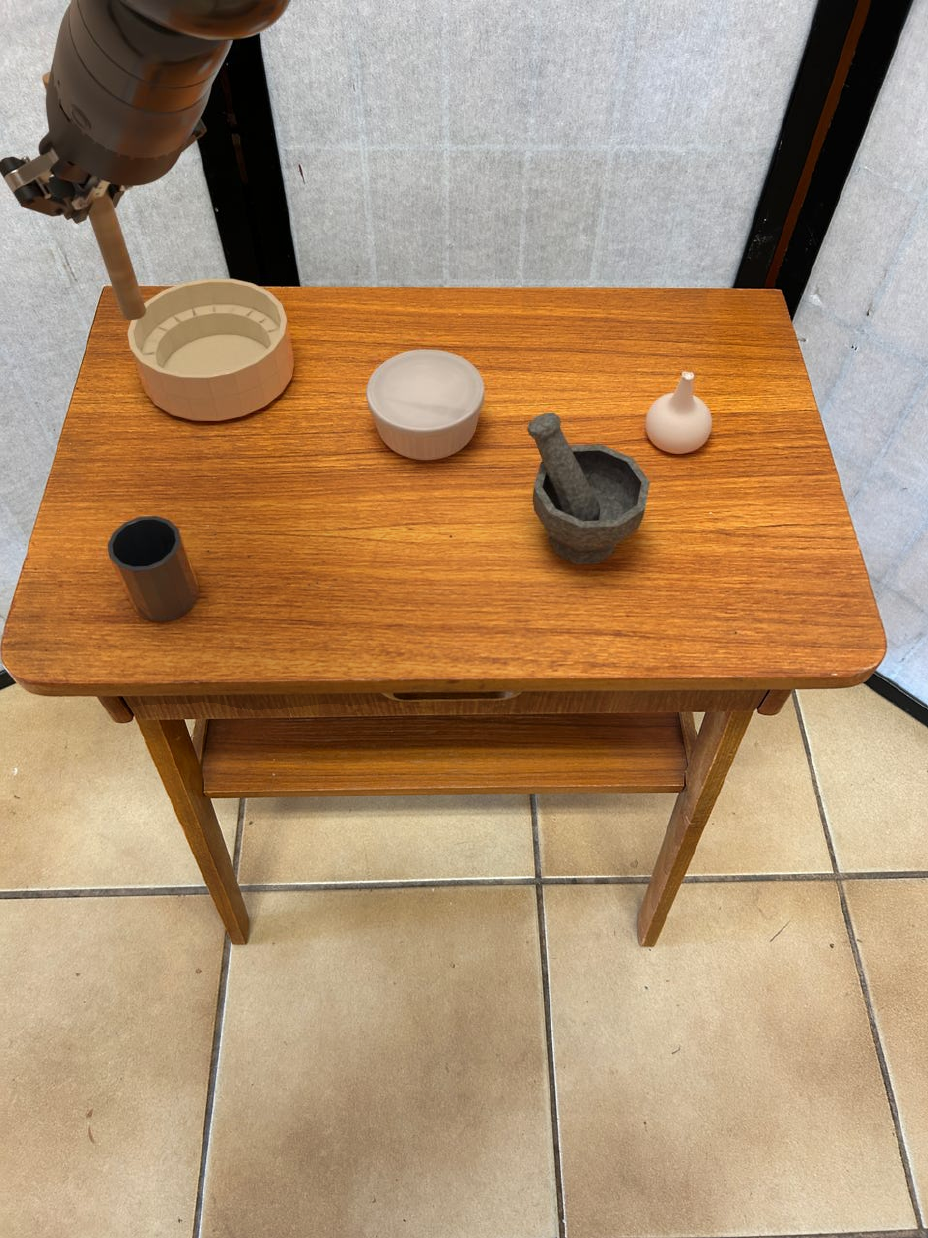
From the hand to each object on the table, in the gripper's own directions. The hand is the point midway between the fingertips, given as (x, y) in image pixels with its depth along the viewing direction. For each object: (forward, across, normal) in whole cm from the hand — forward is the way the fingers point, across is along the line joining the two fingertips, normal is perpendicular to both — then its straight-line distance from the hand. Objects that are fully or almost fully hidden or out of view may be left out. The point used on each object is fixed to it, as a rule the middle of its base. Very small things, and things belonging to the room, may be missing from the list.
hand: (86, 202), depth 66 cm
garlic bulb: (+1, -40, +39) cm, 55 cm away
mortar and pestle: (0, -23, +40) cm, 46 cm away
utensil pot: (+13, +8, +27) cm, 31 cm away
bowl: (+27, -11, +12) cm, 32 cm away
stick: (+4, 0, +7) cm, 8 cm away
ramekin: (+13, -22, +27) cm, 37 cm away
